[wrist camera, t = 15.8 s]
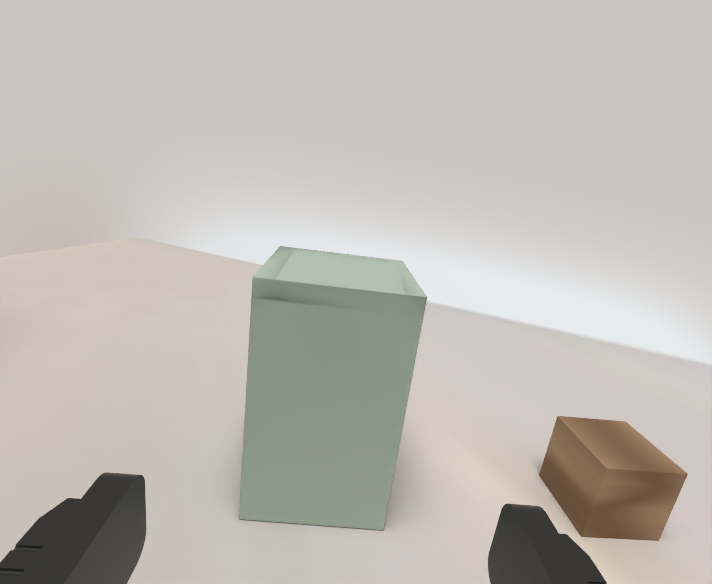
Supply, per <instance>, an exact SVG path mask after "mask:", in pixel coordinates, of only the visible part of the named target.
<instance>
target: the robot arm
mask: <svg viewBox="0 0 712 584" xmlns="http://www.w3.org/2000/svg"><path fill="white" fill-rule="evenodd" d="M145 536H146V505H145V480H144V477H143V476H142V475H133V474H119V473H103V474H102V475H100V476H99V477H98V478H97V480H96V481H95V482H94V483H93V485H92V486H91V487H90V488H89V490H88V491H87V492H86V493H85V495H84V496H83V497H82V498H81V499H74V498H67V499H66V500H65V501H63V502H62V503H60V504H59V505H57V506H56V507H55V508H53V509H52V510H50V511H49V512H48V513H46V514H45V515H43V516H42V517H40V518H39V519H38V520H37V521H36V522H35V523H34V525H33V526H32V527H31V528H30V529H29V530H28V531H27V533H26V534H25V535H24V536H23V537H22V538H21V539H20V541H19V542H18V543H17V544H16V547H15V549H14V550H11V551H10V552H9V553H8V554H7V555H6V557H5V558H4V559H3V560H2V561H1V562H0V584H127V582H128V580H129V578H130V576H131V574H132V572H133V571H134V569H135V567H136V565H137V563H138V560H139V558H140V555H141V552H142V549H143V546H144V541H145ZM488 571H489V578H490V582H491V584H606V581H605V579H604V578H603V576H602V575H601V573H600V572H599V570H598V569H597V567H596V566H595V564H594V563H593V561H592V560H591V558H590V557H589V556H588V555H587V554H586V553H585V552H584V551H583V550H582V549H581V548H580V547H579V546H578V545H577V544H576V543H575V542H574V541H573V540H572V539H571V538H570V537H569V536H568V535H567V534H559V533H558V532H557V530H556V528H555V527H554V525H553V523H552V522H551V520H550V519H549V517H548V515H547V514H546V512H545V511H544V510H543V509H542V508H541V507H539V506H530V505H517V504H505V505H504V506H503V508H502V510H501V513H500V517H499V520H498V524H497V527H496V531H495V534H494V538H493V541H492V545H491V548H490V552H489V557H488Z"/></svg>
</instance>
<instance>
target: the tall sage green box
mask: <svg viewBox="0 0 712 584" xmlns="http://www.w3.org/2000/svg"><path fill="white" fill-rule="evenodd" d="M426 300H427V296H426V295H425V294H424V292H423V291H422V289H421V288H420V287H419V285H418V283H417V282H416V280H415V279H414V277H413V276H412V274H411V273H410V271H409V270H408V268H407V267H406V266H405V264H404V262H403V261H398V260H390V259H382V258H374V257H365V256H357V255H349V254H341V253H332V252H324V251H316V250H308V249H298V248H290V247H283V246H280V247H279V248H278V249H277V250H276V251H275V253H274V254H273V255H272V256H271V257H270V258H269V259H268V261H267V262H266V263H265V264H264V265H263V266H262V267H261V268H260V269H259V271H258V272H257V273H256V274H255V275H254V276H253V280H252V297H251V315H250V333H249V350H248V368H247V386H246V403H245V421H244V439H243V456H242V474H241V492H240V509H239V519H244V520H257V521H270V522H283V523H296V524H309V525H322V526H336V527H349V528H362V529H375V530H383V529H384V524H385V519H386V513H387V508H388V503H389V497H390V492H391V487H392V481H393V476H394V471H395V465H396V460H397V455H398V449H399V444H400V439H401V433H402V428H403V423H404V417H405V412H406V407H407V401H408V396H409V391H410V385H411V380H412V375H413V369H414V364H415V359H416V353H417V348H418V343H419V337H420V332H421V327H422V321H423V316H424V311H425V305H426Z"/></svg>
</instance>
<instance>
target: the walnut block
mask: <svg viewBox="0 0 712 584" xmlns="http://www.w3.org/2000/svg"><path fill="white" fill-rule="evenodd" d="M539 476H540V477H541V479H542V480H543V482H544V483H545V485H546V486H547V487H548V489H549V490H550V492H551V493H552V495H553V496H554V498H555V499H556V501H557V502H558V503H559V505H560V506H561V508H562V509H563V511H564V512H565V514H566V515H567V517H568V518H569V520H570V521H571V522H572V524H573V525H574V527H575V528H576V530H577V531H578V533H579V534H580V536H581V537H596V538H616V539H635V540H655V541H659V538H660V536H661V534H662V532H663V529H664V527H665V525H666V522H667V520H668V518H669V516H670V513H671V511H672V509H673V506H674V504H675V502H676V500H677V497H678V495H679V493H680V490H681V488H682V486H683V484H684V481H685V479H686V477H687V473H686V472H685V471H683V470H682V469H681V468H680V467H679V466H678V465H676V464H675V463H674V462H673V461H672V460H670V459H669V458H668V457H667V456H666V455H664V454H663V453H662V452H661V451H660V450H659V449H657V448H656V447H655V446H654V445H653V444H651V443H650V442H649V441H648V440H647V439H645V438H644V437H643V436H642V435H641V434H640V433H638V432H637V431H636V430H635V429H634V428H632V427H631V426H630V425H629V424H628V423H627V422H623V421H611V420H599V419H587V418H575V417H563V416H557V420H556V423H555V426H554V429H553V432H552V436H551V439H550V442H549V445H548V449H547V452H546V455H545V458H544V461H543V465H542V468H541V471H540V474H539Z"/></svg>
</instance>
